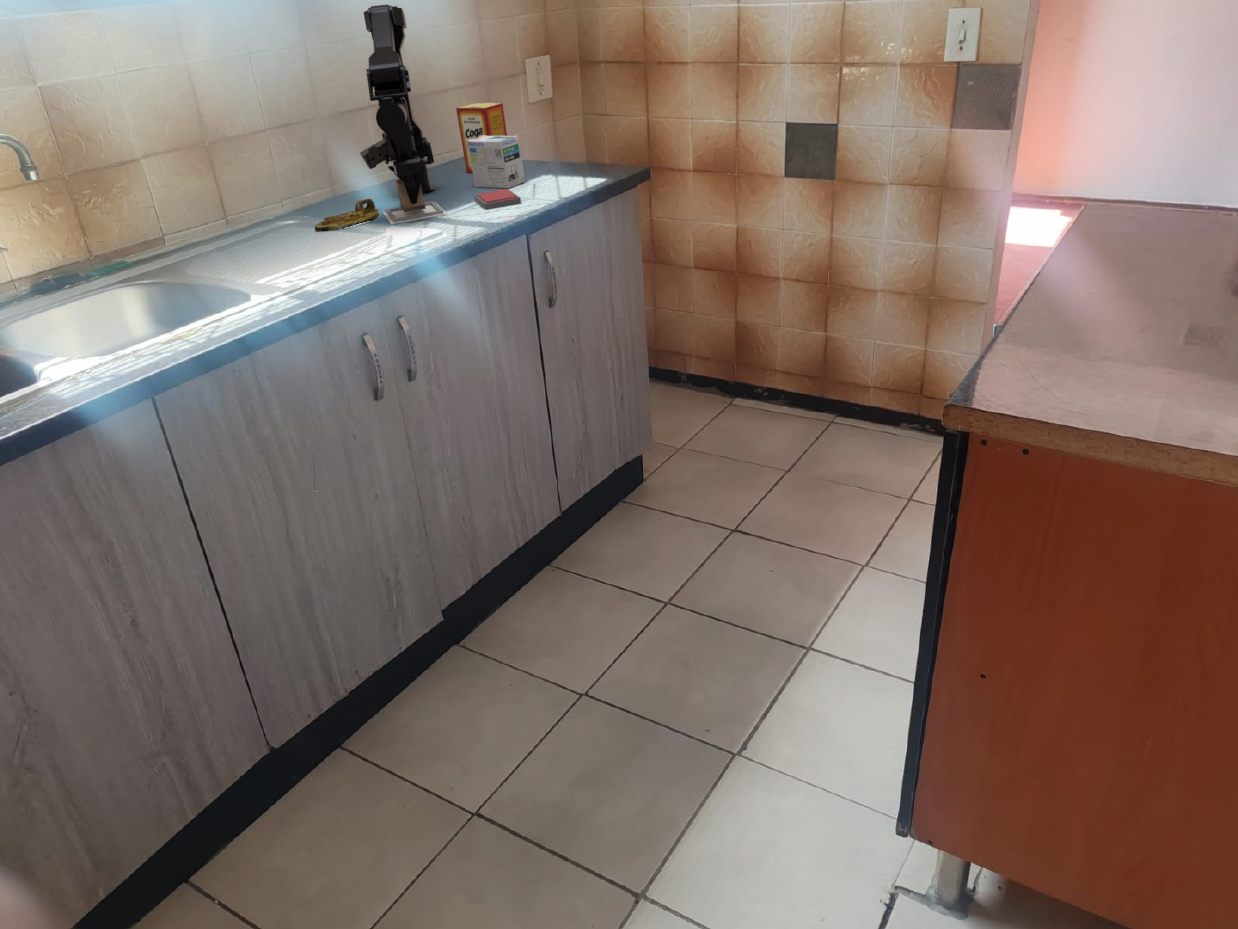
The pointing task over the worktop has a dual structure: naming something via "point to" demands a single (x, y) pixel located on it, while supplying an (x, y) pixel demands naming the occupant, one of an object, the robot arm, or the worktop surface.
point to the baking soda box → (479, 124)
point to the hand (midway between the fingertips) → (412, 201)
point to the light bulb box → (496, 161)
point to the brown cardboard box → (405, 200)
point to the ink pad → (497, 199)
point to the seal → (350, 217)
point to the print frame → (414, 213)
